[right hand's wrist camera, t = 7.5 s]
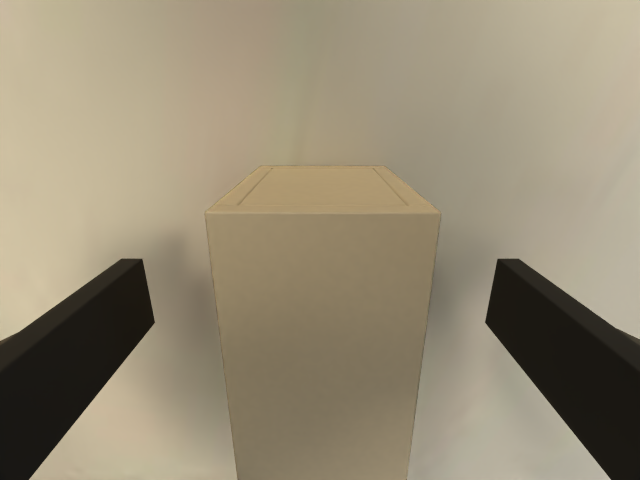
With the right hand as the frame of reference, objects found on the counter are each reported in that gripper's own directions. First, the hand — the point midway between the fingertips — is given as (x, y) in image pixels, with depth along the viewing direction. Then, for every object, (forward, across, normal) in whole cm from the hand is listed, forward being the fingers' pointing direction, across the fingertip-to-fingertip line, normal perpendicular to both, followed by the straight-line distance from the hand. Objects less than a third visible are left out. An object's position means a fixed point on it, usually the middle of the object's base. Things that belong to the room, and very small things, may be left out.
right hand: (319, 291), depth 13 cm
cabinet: (+5, 0, -5) cm, 7 cm away
